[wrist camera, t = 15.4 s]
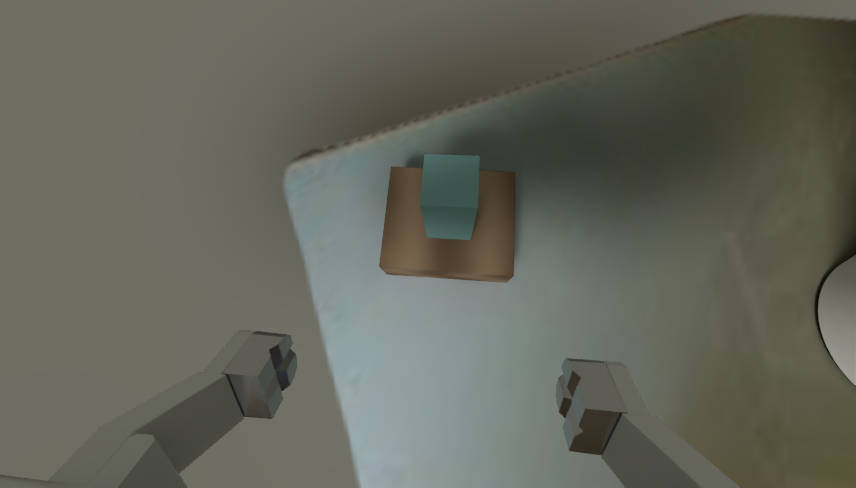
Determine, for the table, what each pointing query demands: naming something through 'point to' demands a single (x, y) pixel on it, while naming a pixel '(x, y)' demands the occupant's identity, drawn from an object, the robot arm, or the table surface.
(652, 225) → the table surface
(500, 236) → the walnut block
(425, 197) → the teal column
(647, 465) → the robot arm
